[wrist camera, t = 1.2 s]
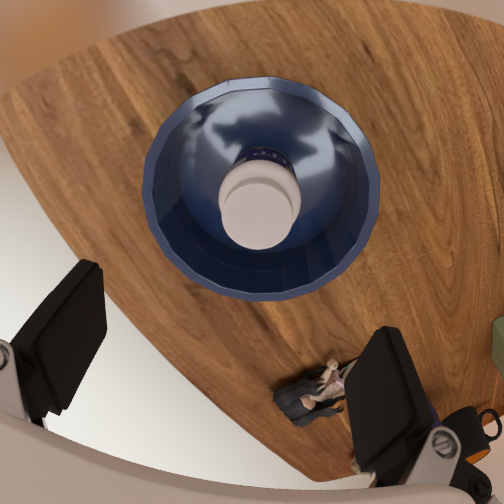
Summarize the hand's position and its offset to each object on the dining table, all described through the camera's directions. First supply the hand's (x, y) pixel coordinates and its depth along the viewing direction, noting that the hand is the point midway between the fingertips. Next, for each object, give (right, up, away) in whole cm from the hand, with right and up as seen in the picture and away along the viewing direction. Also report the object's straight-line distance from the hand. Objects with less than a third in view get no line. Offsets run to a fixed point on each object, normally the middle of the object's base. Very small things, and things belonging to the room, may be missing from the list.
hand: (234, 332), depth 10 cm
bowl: (+1, +9, +15) cm, 18 cm away
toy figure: (+10, -12, +27) cm, 31 cm away
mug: (+42, -29, +34) cm, 61 cm away
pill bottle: (+1, +9, +15) cm, 18 cm away
